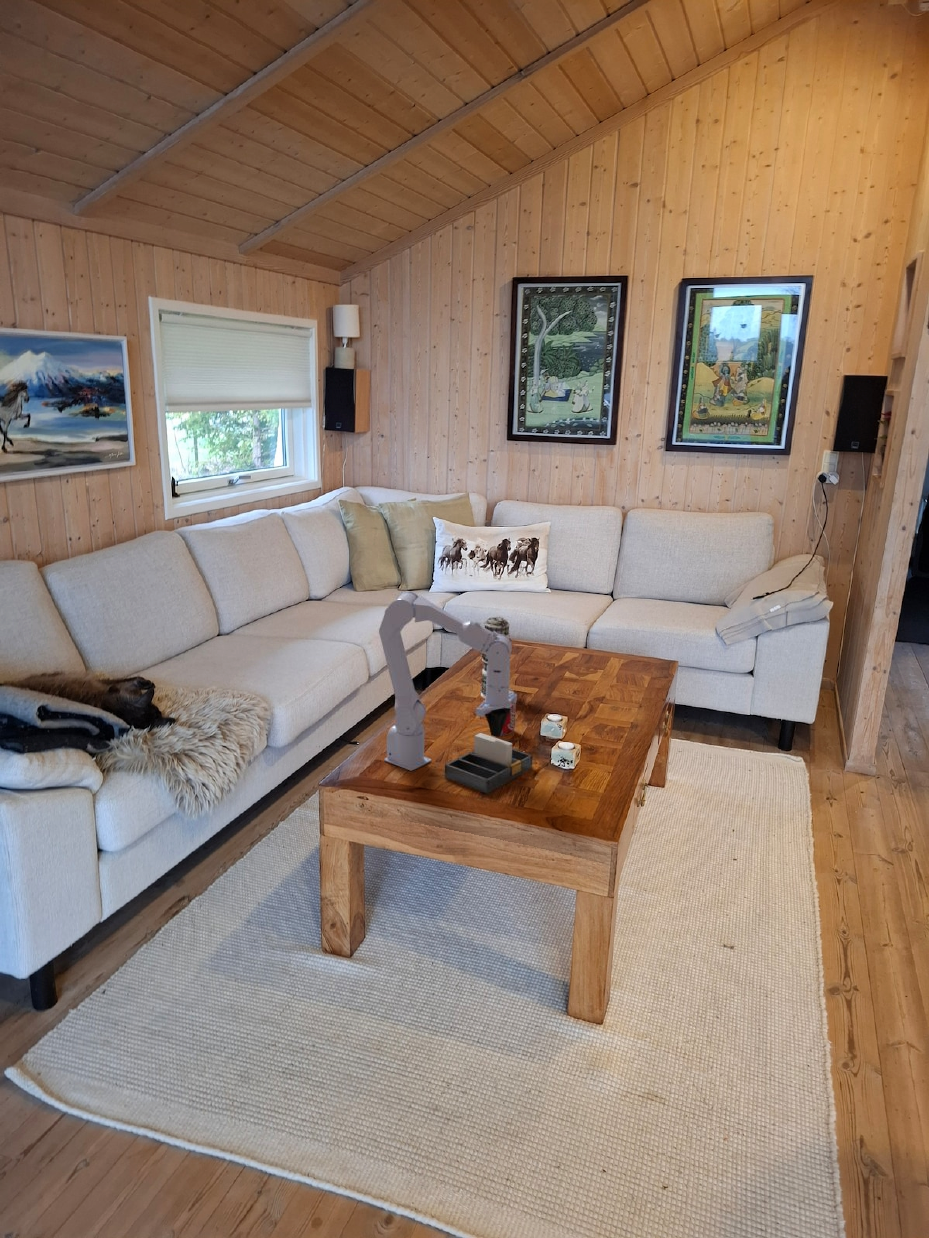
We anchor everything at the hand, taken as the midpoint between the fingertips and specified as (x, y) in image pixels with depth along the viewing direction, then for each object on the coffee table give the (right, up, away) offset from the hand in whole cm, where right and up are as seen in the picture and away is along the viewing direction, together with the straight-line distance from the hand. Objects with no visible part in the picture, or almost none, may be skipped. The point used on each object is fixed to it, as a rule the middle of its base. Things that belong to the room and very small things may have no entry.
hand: (495, 735), depth 214 cm
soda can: (+3, -3, +26) cm, 27 cm away
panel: (-1, -8, +3) cm, 8 cm away
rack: (-2, -9, +1) cm, 10 cm away
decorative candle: (+2, +5, +54) cm, 55 cm away
